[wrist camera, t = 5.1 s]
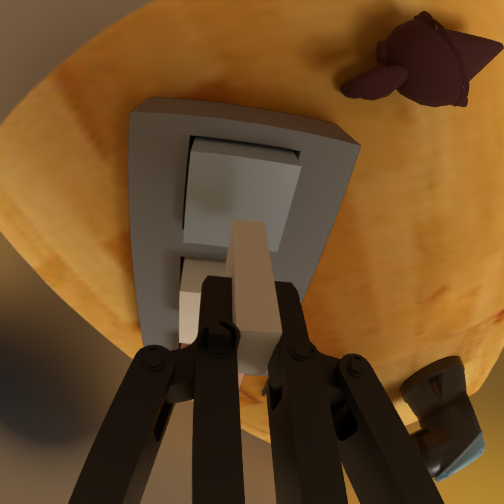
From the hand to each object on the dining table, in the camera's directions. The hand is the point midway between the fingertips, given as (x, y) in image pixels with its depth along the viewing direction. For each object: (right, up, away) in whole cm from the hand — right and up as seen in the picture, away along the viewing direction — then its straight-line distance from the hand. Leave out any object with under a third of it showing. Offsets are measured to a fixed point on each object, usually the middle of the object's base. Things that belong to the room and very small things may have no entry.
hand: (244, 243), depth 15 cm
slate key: (-1, +5, +5) cm, 7 cm away
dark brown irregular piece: (+13, +15, +2) cm, 20 cm away
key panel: (-2, -1, +13) cm, 13 cm away
